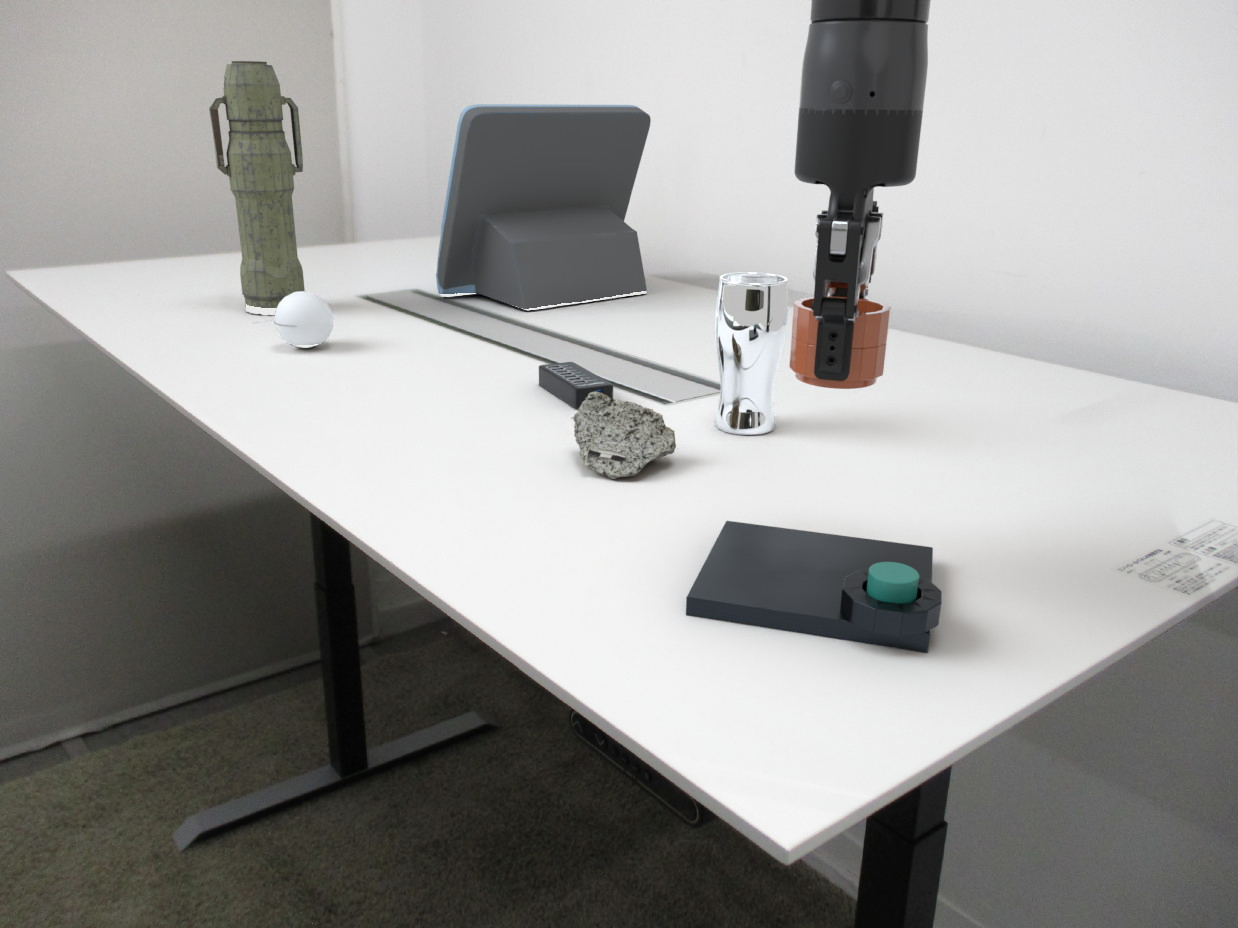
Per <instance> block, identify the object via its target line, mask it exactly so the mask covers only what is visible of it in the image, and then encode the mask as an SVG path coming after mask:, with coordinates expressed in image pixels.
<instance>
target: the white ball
mask: <svg viewBox="0 0 1238 928" xmlns="http://www.w3.org/2000/svg"><path fill="white" fill-rule="evenodd" d="M272 321H273V320H265V321H257V322H252V325H253V324H261V323H268V322H272ZM273 323H274V325H275V330H276V332H277V333H278V335H279V336H280V338H281V339H282V340H283V341H284V342H286V343H287V344H288V345H290V344H294V345H314V344H320V343H322V344H323V343H325V341H326V340H328V338H329V337H330V336H331V333H332V331H333V329H334V315H333V310H332V308H331V307H330V305H329V303H328V302H327V301H326V300H325V299H324V298H323V297H322V296H320V295H319V294H316V293H314V292H311V291H306V290H305V291H299V292H293V293H291V294H290V295H288V296H286V297H284V298H283V299H282V301H281V302H280V303H279V304H278V306H277V309H276V311H275V316H274V321H273ZM320 345H321V344H320Z"/></svg>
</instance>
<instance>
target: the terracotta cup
mask: <svg viewBox="0 0 1238 928" xmlns="http://www.w3.org/2000/svg"><path fill="white" fill-rule="evenodd" d="M827 297H832V298H847V297H839V296H838V297H837V296H830V295H828V296H827ZM812 302H814V296H812V297H805V298H801V299H797V300H795V302H794V303H793V311H792V312H793V313H792V324H791V338H790V339H791V340H790V353H789V369H790V370H791V371H792V372H794V376H795V378H796V379H797V380H798V381H800V382H802V383H804V384H807V385H809V386H814V387H819V388H825V389H826V388H827V389H837V390H852V389H854V390H856V389H863V388H868V387H871V386H873V385H875V384H876V383H877V381H878V380H877V379H878V378H880V377H882V376H884V372H885V365H886V354H887V347H888V346H887V345H888V337H889V329H890V328H889V326H890V318H891V317H890V316H891V309H892V308H891V307H892V306H890V305H888V304H886V303H885V302H881V301H877V300H873V299H869V298H868V299H867V298H866V299H862V298H859V300H858V308H857V310H859V316H858V318H856V322H855V324H854V332H853V343H852V353H851V364H850V373H849V376H848V378H847V379H846V380H844V381H834V380H823V379H818V378H817V377H816V376H815V374H814V365H815V353H816V341H817V329H818V321H816V316H813V310H811V307H812Z"/></svg>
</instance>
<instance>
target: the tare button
mask: <svg viewBox="0 0 1238 928" xmlns="http://www.w3.org/2000/svg"><path fill="white" fill-rule="evenodd" d="M918 582H919V574H918V572H917V571H916V570H915V569H913V568H912V567H910V566H907V565H904V564H901V563H895V562H880V563H876V564H873V565H872V566H871V567H870V568H869V573H868V582H867V594H868V595H869V596H870V597H872V598H875V599H877V600H880V601H884V602H890V603H897V604H902V603H912V602H914V601H915V600H916V597H917V590H918Z"/></svg>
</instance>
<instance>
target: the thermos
mask: <svg viewBox="0 0 1238 928" xmlns="http://www.w3.org/2000/svg"><path fill="white" fill-rule="evenodd" d="M274 69H275V68H274V67H273V65H272V64H268V62H267V61H252V60H231V63H229V64H228V63H227V64H226V65H225V71H224V76H223V79H224V81H223V82H224V83H223V89H222V90H223V95H222V97H216V98H214V100H213V102H212V103H211V105H210V106H209V107H208V112H209V117H210V123H211V124H210V125H211V130H212V136H213V137H212V138H213V145H214V153H215V162H216V163H215V164H216V168H217V170H219V171H220V172H221V173H222V174H224V175H225V176H227V177H228V179H229V187H230V191H231V193H232V194H233V196H234V202H235V207H236V208H235V209H236V217H237V225H238V234H239V243H240V252H241V263H240V267H239V269H240V270H239V276H240V285H241V294H242V295H243V297H244V304H245V303H246V304H247V305H249V306H254V307H261V308H277V306H278V304H279V303H280V302H281V301H282V299H283V298H284V297H286V296H288V295H290V294H291V293H293V292H299V291H306V290H305V279H304V270H303V265H302V264H301V262H300V259H299V256H298V246H297V235H296V225H295V215H294V214H295V213H294V206H293V205H294V204H293V194H294V191H295V181H294V176H296V173H302V172H303V171H304V159H303V157H304V156H303V147H302V136H301V125H300V115H299V114H300V113H299V107H298V106H297V104H296V103H295V102H294V100H293V99H292V98H291V97H285V96H284V95H282V93H281V92H282V91H281V85H280V82H279V79H278V76H277V74H276V71H275V70H274ZM221 104H223V105H224V106H225V113H226V120H227V121H228V127H229V130H228V132H227V133H228V143H227V149H226V154H225V155H226V161H227V165H226V164H225V156H224V149H223V141H222V133H221V125H220V124H221V123H220V115H219V108H220V105H221ZM286 104H287V105H288V107H289V112H290V121H291V133H292V141H293V152H294V163H295V164H294V163H293V161H292V160H293V159H292V151H291V149H290V147H289V145H288V142H287V140H286V134H285V133H286V132H285V130H283V129H284V128H283V121H284V113H283V112H284V111H283V106H284V105H286Z"/></svg>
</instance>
